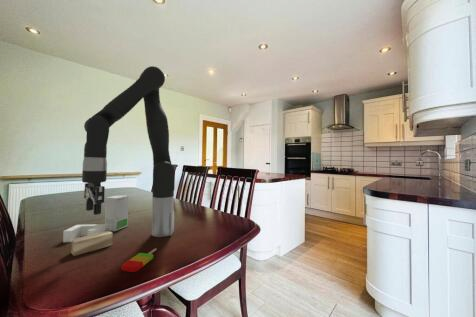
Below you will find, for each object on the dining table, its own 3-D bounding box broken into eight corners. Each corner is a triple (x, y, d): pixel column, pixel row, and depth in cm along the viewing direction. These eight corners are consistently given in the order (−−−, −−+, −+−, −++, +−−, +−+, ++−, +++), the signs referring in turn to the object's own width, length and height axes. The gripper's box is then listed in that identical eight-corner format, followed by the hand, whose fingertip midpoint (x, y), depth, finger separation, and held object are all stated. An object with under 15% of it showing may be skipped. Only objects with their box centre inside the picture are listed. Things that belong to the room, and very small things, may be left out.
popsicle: (119, 271, 62) (119, 265, 62) (149, 250, 77) (149, 245, 77) (135, 273, 61) (135, 267, 61) (162, 251, 76) (162, 246, 76)
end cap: (105, 234, 91) (105, 224, 91) (95, 241, 83) (95, 230, 83) (76, 234, 89) (76, 224, 89) (63, 242, 81) (63, 231, 81)
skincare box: (115, 231, 94) (116, 198, 94) (103, 230, 95) (104, 197, 95) (128, 226, 102) (129, 195, 102) (117, 224, 103) (118, 194, 104)
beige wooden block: (112, 245, 80) (112, 232, 80) (74, 256, 70) (74, 242, 70) (109, 243, 82) (109, 230, 82) (71, 253, 73) (71, 239, 73)
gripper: (113, 170, 75) (111, 213, 75) (99, 168, 84) (98, 207, 84) (89, 170, 69) (87, 218, 69) (77, 168, 78) (75, 210, 78)
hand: (93, 212), depth 76 cm, fingers open, 8 cm apart
